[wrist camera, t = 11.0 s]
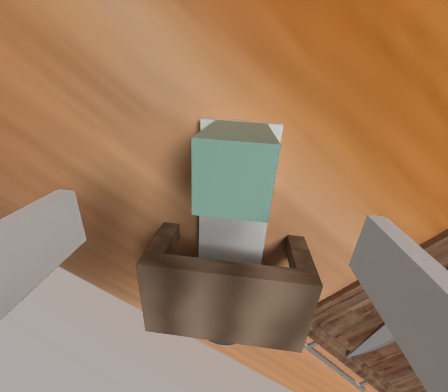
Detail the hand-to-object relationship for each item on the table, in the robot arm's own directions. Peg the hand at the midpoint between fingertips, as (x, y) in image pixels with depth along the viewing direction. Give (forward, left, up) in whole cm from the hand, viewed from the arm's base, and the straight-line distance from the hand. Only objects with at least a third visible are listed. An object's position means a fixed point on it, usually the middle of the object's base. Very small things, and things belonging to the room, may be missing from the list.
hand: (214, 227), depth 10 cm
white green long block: (0, -10, -16) cm, 19 cm away
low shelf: (0, -15, -16) cm, 22 cm away
